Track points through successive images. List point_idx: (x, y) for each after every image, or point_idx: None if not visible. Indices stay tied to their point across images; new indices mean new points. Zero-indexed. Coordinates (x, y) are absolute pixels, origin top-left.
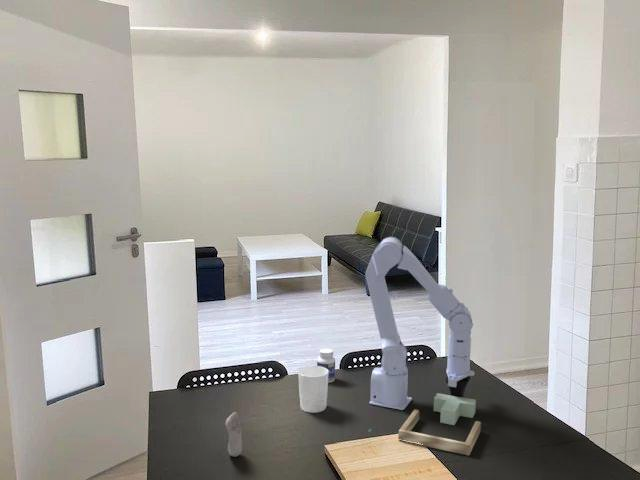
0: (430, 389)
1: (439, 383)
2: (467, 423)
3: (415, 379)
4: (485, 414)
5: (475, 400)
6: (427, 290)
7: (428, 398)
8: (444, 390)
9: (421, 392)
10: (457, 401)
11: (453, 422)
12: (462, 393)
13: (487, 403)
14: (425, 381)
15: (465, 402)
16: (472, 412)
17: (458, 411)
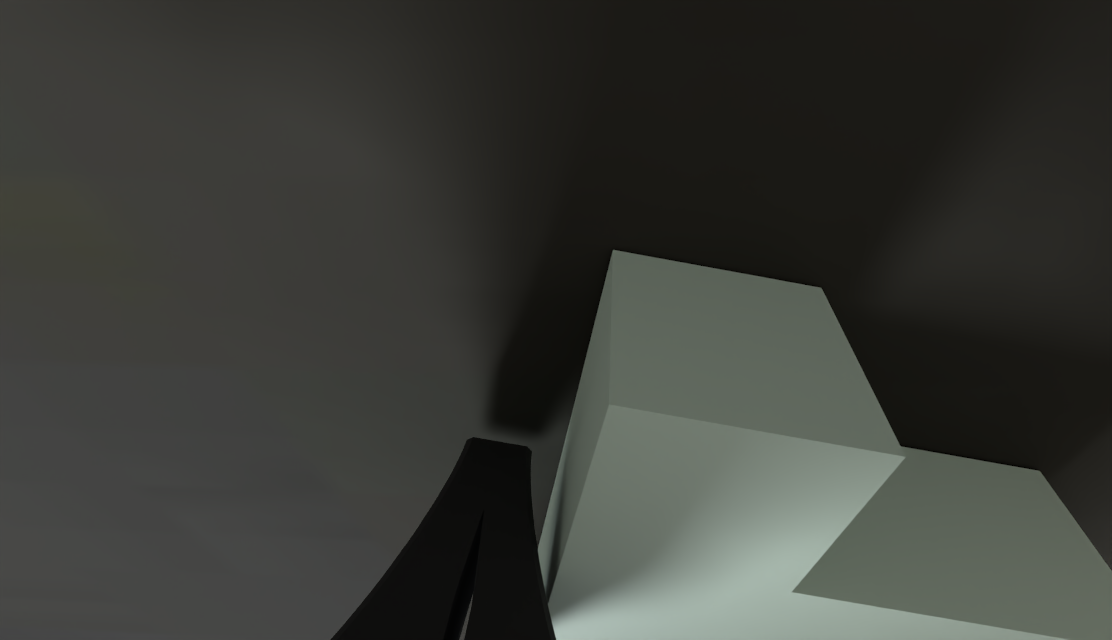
0: (199, 578)
1: (9, 528)
2: (1005, 348)
3: (91, 632)
4: (643, 85)
5: (640, 407)
6: None
7: None
8: (132, 505)
9: (305, 619)
10: (747, 611)
11: (1049, 506)
12: (553, 633)
13: (135, 44)
14: (68, 594)
15: (781, 542)
16: (848, 349)
17: (860, 512)
